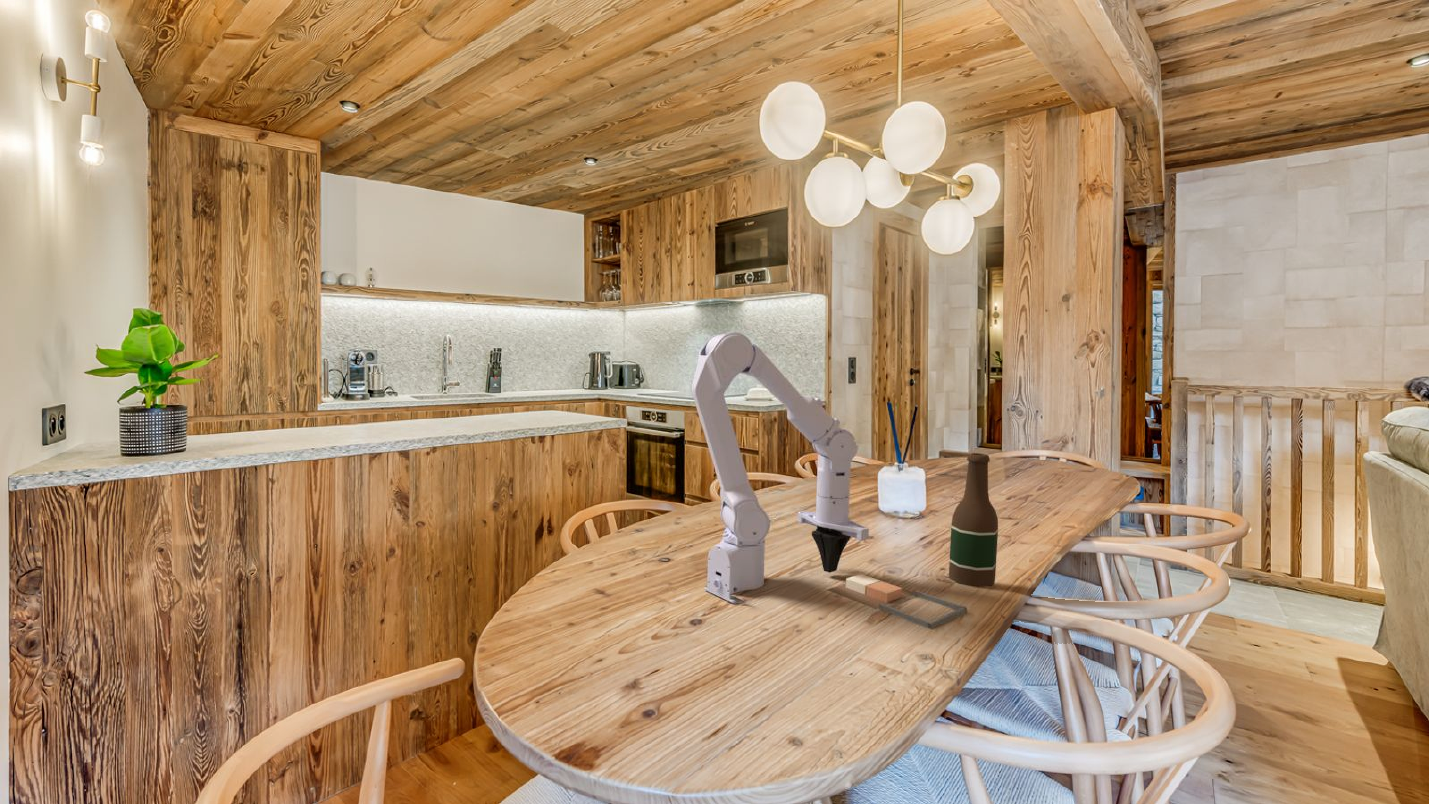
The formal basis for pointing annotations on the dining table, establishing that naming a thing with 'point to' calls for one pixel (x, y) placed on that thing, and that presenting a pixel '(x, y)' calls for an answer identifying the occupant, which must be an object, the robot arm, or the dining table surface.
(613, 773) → the dining table surface
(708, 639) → the dining table surface
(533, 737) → the dining table surface
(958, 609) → the tray
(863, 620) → the dining table surface
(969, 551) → the beer bottle
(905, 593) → the walnut board
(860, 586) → the offwhite tile
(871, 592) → the terracotta tile
